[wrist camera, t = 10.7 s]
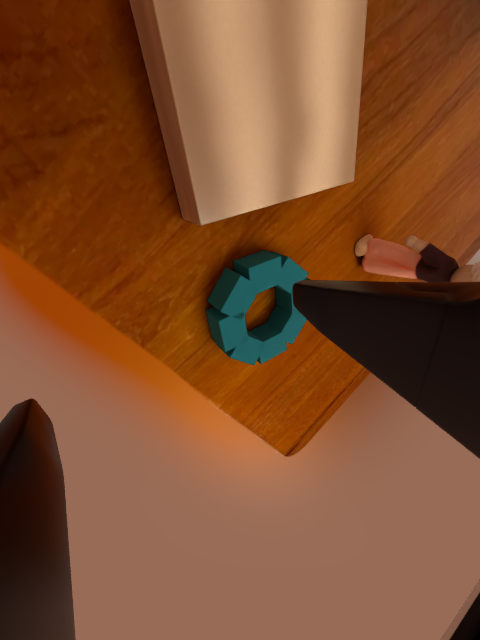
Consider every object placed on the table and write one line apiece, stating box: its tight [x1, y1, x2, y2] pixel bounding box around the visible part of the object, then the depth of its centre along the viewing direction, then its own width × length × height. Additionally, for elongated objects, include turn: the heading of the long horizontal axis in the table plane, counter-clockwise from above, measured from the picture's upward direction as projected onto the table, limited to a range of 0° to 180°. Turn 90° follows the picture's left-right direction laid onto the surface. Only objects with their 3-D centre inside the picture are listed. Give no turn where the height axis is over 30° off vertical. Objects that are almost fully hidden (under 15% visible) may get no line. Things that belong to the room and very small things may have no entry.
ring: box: [206, 250, 310, 365], centre depth 25 cm, size 10×10×2 cm
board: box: [129, 0, 367, 226], centre depth 16 cm, size 14×18×3 cm
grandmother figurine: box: [355, 234, 480, 282], centre depth 27 cm, size 8×4×13 cm, turn 55°
